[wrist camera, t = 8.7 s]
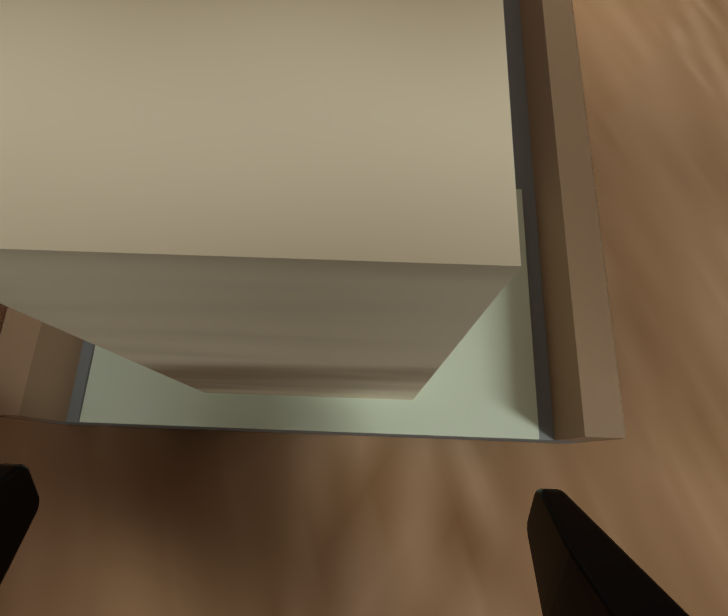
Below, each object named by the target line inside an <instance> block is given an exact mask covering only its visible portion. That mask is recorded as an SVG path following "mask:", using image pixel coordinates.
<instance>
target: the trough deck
mask: <svg viewBox="0 0 728 616" xmlns="http://www.w3.org/2000/svg"><path fill="white" fill-rule="evenodd" d="M503 7H504V22H505V37H506V51H507V66H508V81H509V95H510V110H511V125H512V139H513V154H514V169H515V183H516V198H517V213H518V228H519V242H520V257H521V267H520V268H519V269H518V271H517V272H516V273H515V274H514V276H513V277H512V278H511V279H510V281H509V282H508V283H507V284H506V286H505V287H504V288H503V289H502V290H501V292H500V293H499V294H498V295H497V297H496V298H495V299H494V300H493V302H492V303H491V304H490V305H489V307H488V308H487V309H486V310H485V312H484V313H483V314H482V315H481V316H480V318H479V319H478V320H477V321H476V323H475V324H474V325H473V326H472V328H471V329H470V330H469V331H468V333H467V334H466V335H465V336H464V338H463V339H462V340H461V341H460V342H459V344H458V345H457V346H456V347H455V349H454V350H453V351H452V352H451V354H450V355H449V356H448V357H447V359H446V360H445V361H444V362H443V364H442V365H441V366H440V367H439V368H438V370H437V371H436V372H435V373H434V375H433V376H432V377H431V378H430V380H429V381H428V382H427V383H426V385H425V386H424V387H423V388H422V389H421V391H420V392H419V393H418V394H417V396H416V397H415V398H414V399H413V400H390V399H362V398H334V397H307V396H279V395H251V394H223V393H204V392H202V391H199V390H197V389H195V388H193V387H190V386H188V385H186V384H183V383H181V382H179V381H177V380H174V379H172V378H170V377H167V376H165V375H163V374H160V373H158V372H156V371H154V370H151V369H149V368H147V367H144V366H142V365H140V364H138V363H135V362H133V361H131V360H128V359H126V358H124V357H122V356H119V355H117V354H115V353H112V352H110V351H108V350H105V349H103V348H101V347H99V346H96V345H94V344H92V343H89V342H87V341H85V340H83V339H80V338H78V337H76V336H73V335H71V334H69V333H67V332H64V331H62V330H60V329H57V328H55V327H53V326H50V325H48V324H46V323H44V322H41V321H39V320H37V319H34V318H32V317H30V316H28V315H25V314H23V313H21V312H18V311H16V310H14V309H12V308H9V307H8V308H7V312H6V315H5V319H4V323H3V326H2V330H1V334H0V417H7V418H15V419H23V420H31V421H39V422H47V423H55V424H66V425H93V426H119V427H146V428H172V429H199V430H225V431H251V432H278V433H304V434H331V435H357V436H384V437H410V438H436V439H463V440H489V441H516V442H542V443H579V442H591V441H602V440H613V439H624V438H626V433H625V424H624V416H623V408H622V400H621V392H620V384H619V376H618V368H617V360H616V352H615V344H614V335H613V327H612V319H611V311H610V303H609V295H608V287H607V279H606V271H605V263H604V255H603V246H602V238H601V230H600V222H599V214H598V206H597V198H596V190H595V182H594V174H593V166H592V157H591V149H590V141H589V133H588V125H587V117H586V109H585V101H584V93H583V85H582V77H581V68H580V60H579V52H578V44H577V36H576V28H575V20H574V12H573V4H572V0H503Z"/></svg>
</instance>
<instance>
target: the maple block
mask: <svg viewBox="0 0 728 616" xmlns="http://www.w3.org/2000/svg"><path fill="white" fill-rule="evenodd" d="M520 267H521V257H520V242H519V228H518V213H517V198H516V183H515V169H514V154H513V139H512V125H511V110H510V95H509V81H508V66H507V51H506V37H505V22H504V7H503V0H0V304H2V305H5V306H7V307H9V308H12V309H14V310H16V311H18V312H21V313H23V314H25V315H28V316H30V317H32V318H34V319H37V320H39V321H41V322H44V323H46V324H48V325H50V326H53V327H55V328H57V329H60V330H62V331H64V332H67V333H69V334H71V335H73V336H76V337H78V338H80V339H83V340H85V341H87V342H89V343H92V344H94V345H96V346H99V347H101V348H103V349H105V350H108V351H110V352H112V353H115V354H117V355H119V356H122V357H124V358H126V359H128V360H131V361H133V362H135V363H138V364H140V365H142V366H144V367H147V368H149V369H151V370H154V371H156V372H158V373H160V374H163V375H165V376H167V377H170V378H172V379H174V380H177V381H179V382H181V383H183V384H186V385H188V386H190V387H193V388H195V389H197V390H199V391H202V392H204V393H223V394H251V395H279V396H307V397H334V398H362V399H390V400H413V399H414V398H415V397H416V396H417V394H418V393H419V392H420V391H421V389H422V388H423V387H424V386H425V385H426V383H427V382H428V381H429V380H430V378H431V377H432V376H433V375H434V373H435V372H436V371H437V370H438V368H439V367H440V366H441V365H442V364H443V362H444V361H445V360H446V359H447V357H448V356H449V355H450V354H451V352H452V351H453V350H454V349H455V347H456V346H457V345H458V344H459V342H460V341H461V340H462V339H463V338H464V336H465V335H466V334H467V333H468V331H469V330H470V329H471V328H472V326H473V325H474V324H475V323H476V321H477V320H478V319H479V318H480V316H481V315H482V314H483V313H484V312H485V310H486V309H487V308H488V307H489V305H490V304H491V303H492V302H493V300H494V299H495V298H496V297H497V295H498V294H499V293H500V292H501V290H502V289H503V288H504V287H505V286H506V284H507V283H508V282H509V281H510V279H511V278H512V277H513V276H514V274H515V273H516V272H517V271H518V269H519V268H520Z"/></svg>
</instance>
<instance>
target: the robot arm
mask: <svg viewBox="0 0 728 616" xmlns="http://www.w3.org/2000/svg"><path fill="white" fill-rule="evenodd" d="M38 506H39V495H38V493H37V490H36V487H35V485H34V482H33V479H32V477H31V474H30V471H29V469H28V468H27V467H26V466H25V465H22V464H0V585H1V583H2V581H3V579H4V577H5V575H6V573H7V571H8V569H9V567H10V565H11V563H12V561H13V559H14V557H15V555H16V553H17V551H18V549H19V547H20V545H21V543H22V541H23V539H24V537H25V534H26V532H27V530H28V528H29V526H30V524H31V522H32V520H33V518H34V516H35V514H36V512H37V510H38ZM527 532H528V539H529V544H530V550H531V555H532V560H533V566H534V571H535V576H536V582H537V587H538V593H539V598H540V603H541V609H542V614H543V616H689V615H688V614H687V613H686V612H685V611H684V610H683V609H682V608H681V607H680V606H679V605H678V604H677V603H676V602H675V601H674V600H673V599H672V598H671V597H670V596H669V595H668V594H667V593H666V592H665V591H664V590H663V589H662V588H661V587H660V586H659V585H658V584H657V583H656V582H655V581H654V580H653V579H652V578H651V577H650V576H649V575H648V574H647V573H646V572H644V571H643V570H642V569H641V568H640V567H639V566H638V565H637V564H636V563H635V562H634V561H633V560H632V559H631V558H630V557H629V556H628V555H627V554H626V553H625V552H624V551H623V550H622V549H621V548H620V547H619V546H618V545H617V544H616V543H615V542H614V541H613V540H612V539H611V538H610V537H609V536H608V535H607V534H606V533H605V532H604V531H603V530H602V529H601V528H600V527H599V526H598V525H597V524H596V523H595V522H594V521H593V520H592V519H591V518H590V517H589V516H588V515H587V514H586V513H585V512H584V511H583V510H582V509H581V508H580V507H579V506H578V505H576V504H575V503H574V502H573V501H572V500H571V499H570V498H569V497H568V496H567V495H566V494H565V493H564V492H563V491H561V490H558V489H538V490H537V491H536V492H535V495H534V498H533V502H532V506H531V510H530V514H529V517H528V522H527Z"/></svg>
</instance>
